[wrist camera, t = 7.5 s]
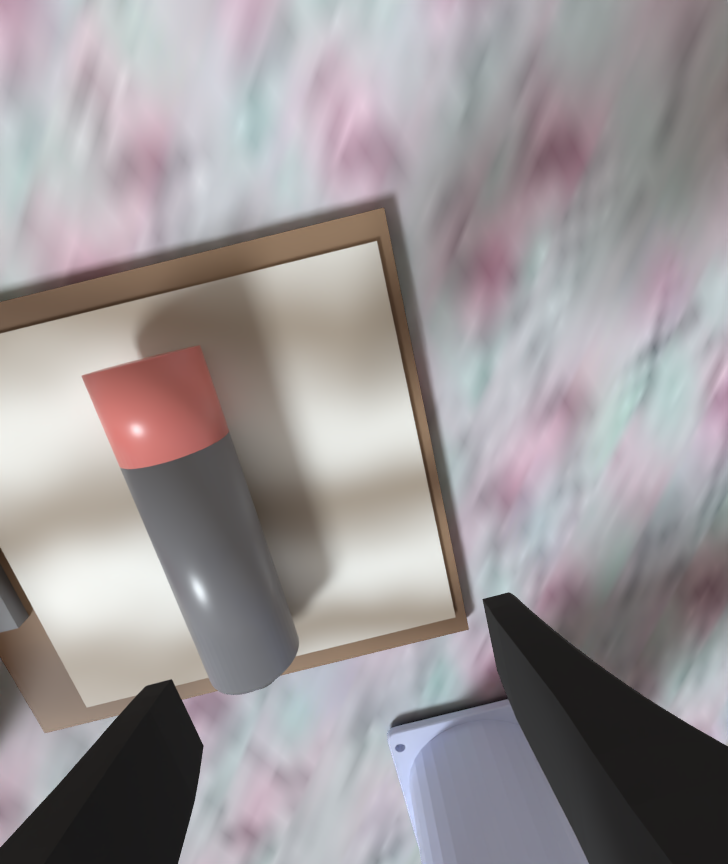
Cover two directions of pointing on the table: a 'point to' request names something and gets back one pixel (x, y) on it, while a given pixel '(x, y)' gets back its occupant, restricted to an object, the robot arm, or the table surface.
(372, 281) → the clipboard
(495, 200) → the table surface
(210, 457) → the marker
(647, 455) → the table surface
